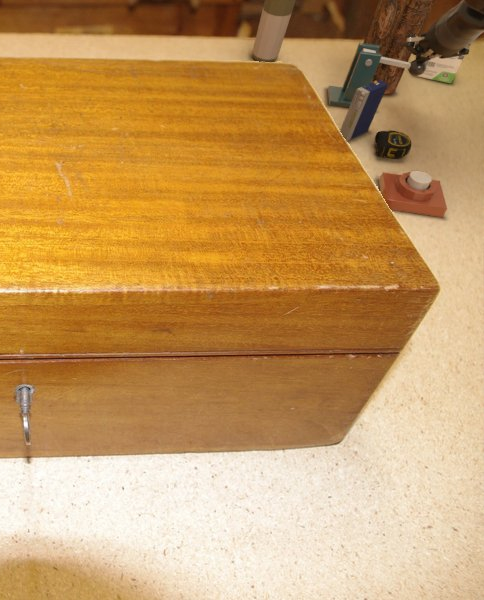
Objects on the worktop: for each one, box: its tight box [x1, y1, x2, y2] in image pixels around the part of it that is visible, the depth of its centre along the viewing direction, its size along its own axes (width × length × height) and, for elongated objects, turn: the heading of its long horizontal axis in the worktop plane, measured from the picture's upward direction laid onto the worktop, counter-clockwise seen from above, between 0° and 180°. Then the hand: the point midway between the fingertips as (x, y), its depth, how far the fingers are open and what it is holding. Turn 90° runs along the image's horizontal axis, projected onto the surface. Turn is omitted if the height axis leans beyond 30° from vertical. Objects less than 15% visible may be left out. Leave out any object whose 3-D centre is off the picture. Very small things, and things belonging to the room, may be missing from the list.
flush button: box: [406, 170, 433, 190], centre depth 136 cm, size 4×4×2 cm
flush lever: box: [362, 48, 427, 77], centre depth 156 cm, size 14×4×4 cm, turn 77°
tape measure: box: [374, 130, 412, 160], centre depth 149 cm, size 7×7×4 cm
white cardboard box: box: [417, 55, 466, 84], centre depth 168 cm, size 9×5×12 cm, turn 64°
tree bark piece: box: [362, 0, 436, 97], centre depth 162 cm, size 16×6×25 cm, turn 175°
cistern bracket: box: [327, 42, 382, 109], centre depth 159 cm, size 10×7×13 cm
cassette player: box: [339, 80, 388, 142], centre depth 150 cm, size 7×2×12 cm, turn 123°
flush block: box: [378, 171, 448, 218], centre depth 138 cm, size 11×9×4 cm
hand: (420, 57), depth 154 cm, fingers closed
